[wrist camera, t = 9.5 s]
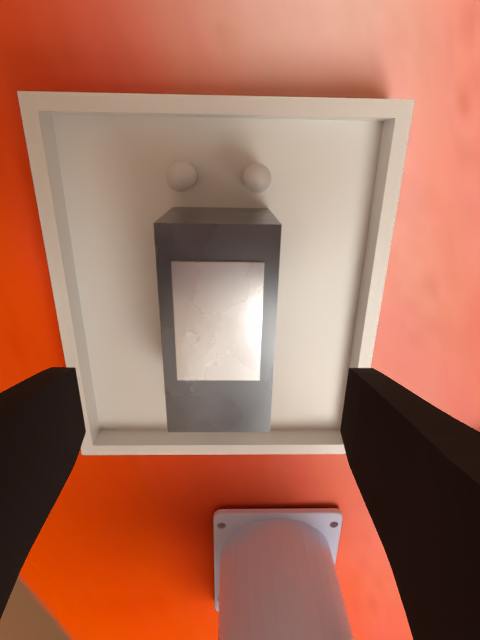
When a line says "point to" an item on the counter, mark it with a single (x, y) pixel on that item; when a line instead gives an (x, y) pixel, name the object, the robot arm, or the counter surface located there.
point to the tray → (222, 192)
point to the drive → (218, 316)
